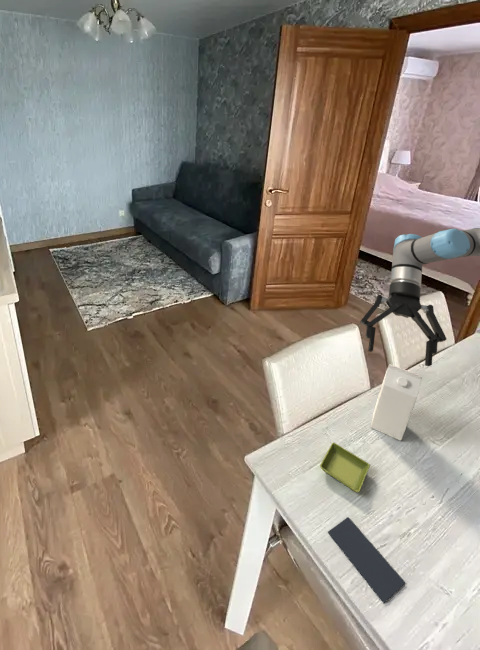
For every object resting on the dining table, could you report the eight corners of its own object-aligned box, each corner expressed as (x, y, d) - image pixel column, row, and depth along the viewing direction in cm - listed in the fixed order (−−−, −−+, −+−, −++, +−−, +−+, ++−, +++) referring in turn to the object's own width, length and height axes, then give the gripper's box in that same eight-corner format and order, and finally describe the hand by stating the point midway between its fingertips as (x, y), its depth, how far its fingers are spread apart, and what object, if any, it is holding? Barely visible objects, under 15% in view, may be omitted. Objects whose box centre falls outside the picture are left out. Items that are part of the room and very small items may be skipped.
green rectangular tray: (357, 499, 76) (359, 492, 75) (317, 472, 81) (319, 466, 80) (368, 470, 82) (370, 464, 81) (331, 447, 87) (332, 441, 86)
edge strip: (404, 583, 62) (405, 582, 62) (383, 603, 60) (384, 602, 60) (347, 517, 72) (348, 516, 72) (327, 532, 70) (327, 531, 70)
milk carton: (374, 409, 98) (390, 356, 91) (403, 422, 94) (422, 367, 87) (370, 427, 93) (387, 372, 85) (401, 441, 89) (421, 385, 82)
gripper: (451, 298, 99) (448, 373, 92) (355, 280, 108) (346, 347, 102) (463, 290, 93) (460, 370, 86) (359, 272, 102) (350, 343, 95)
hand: (398, 358), depth 94 cm, fingers open, 13 cm apart
